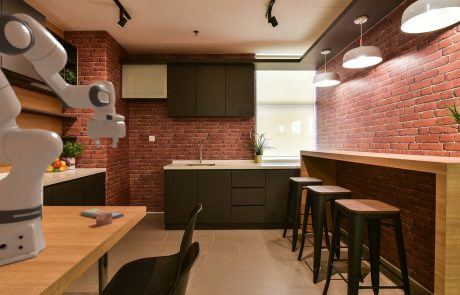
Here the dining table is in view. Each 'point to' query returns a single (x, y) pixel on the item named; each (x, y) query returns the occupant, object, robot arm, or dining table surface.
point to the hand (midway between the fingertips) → (105, 147)
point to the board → (95, 211)
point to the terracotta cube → (104, 218)
